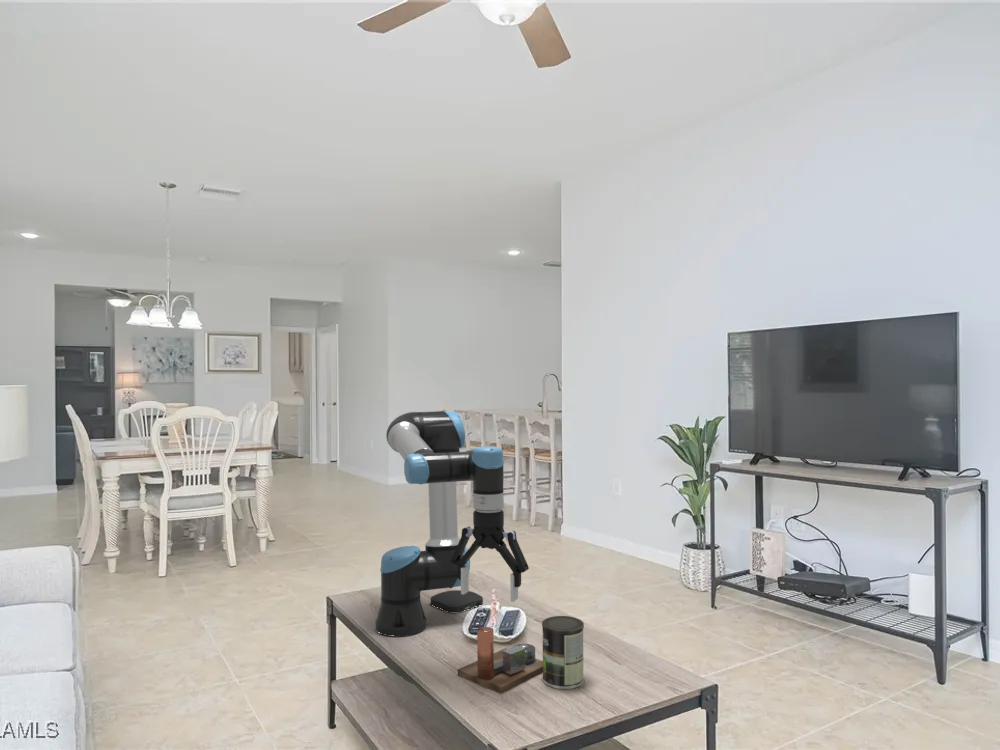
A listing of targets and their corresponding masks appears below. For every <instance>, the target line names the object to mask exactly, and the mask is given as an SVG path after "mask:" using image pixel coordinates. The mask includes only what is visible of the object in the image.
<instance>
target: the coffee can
mask: <svg viewBox="0 0 1000 750" xmlns="http://www.w3.org/2000/svg"><path fill="white" fill-rule="evenodd" d="M584 626H585V623H584V622H583V620H581V619H580V618H577V617H574V616H570V615H569V616H567V615H555V616H550V617H547V618H544V619H543V620H542V621H541V627H542V661H543V673H542V678H541V679H542V682H543V683H544V684H545V686H548V687H550V688H553V689H557V690H573V689H575V688H578V687H581V686H582V685H583V684H584V681H585V679H584Z"/></svg>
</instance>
